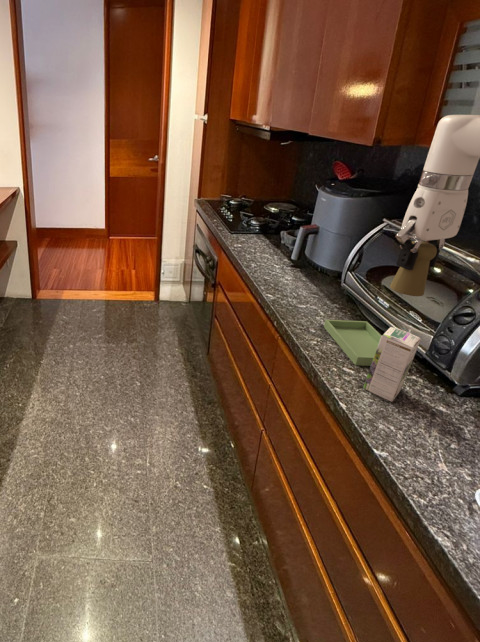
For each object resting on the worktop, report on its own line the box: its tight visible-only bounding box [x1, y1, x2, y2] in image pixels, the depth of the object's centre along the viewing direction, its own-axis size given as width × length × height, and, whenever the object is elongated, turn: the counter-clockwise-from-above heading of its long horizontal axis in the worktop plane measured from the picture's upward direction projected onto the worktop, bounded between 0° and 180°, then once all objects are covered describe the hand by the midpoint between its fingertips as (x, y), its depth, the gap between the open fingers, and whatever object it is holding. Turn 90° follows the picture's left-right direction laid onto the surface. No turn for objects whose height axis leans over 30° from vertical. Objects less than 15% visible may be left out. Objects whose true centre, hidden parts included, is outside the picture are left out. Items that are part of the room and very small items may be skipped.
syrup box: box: [362, 326, 422, 403], centre depth 84 cm, size 6×6×14 cm
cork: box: [389, 240, 437, 297], centre depth 83 cm, size 6×6×11 cm
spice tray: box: [323, 319, 383, 367], centre depth 102 cm, size 17×11×2 cm, turn 175°
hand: (415, 265), depth 83 cm, fingers closed on cork, 5 cm apart
